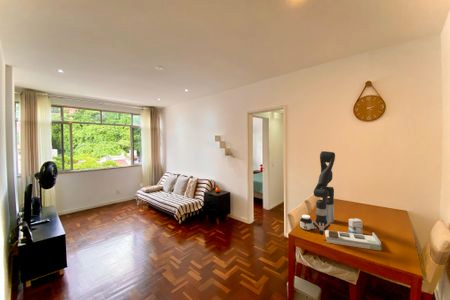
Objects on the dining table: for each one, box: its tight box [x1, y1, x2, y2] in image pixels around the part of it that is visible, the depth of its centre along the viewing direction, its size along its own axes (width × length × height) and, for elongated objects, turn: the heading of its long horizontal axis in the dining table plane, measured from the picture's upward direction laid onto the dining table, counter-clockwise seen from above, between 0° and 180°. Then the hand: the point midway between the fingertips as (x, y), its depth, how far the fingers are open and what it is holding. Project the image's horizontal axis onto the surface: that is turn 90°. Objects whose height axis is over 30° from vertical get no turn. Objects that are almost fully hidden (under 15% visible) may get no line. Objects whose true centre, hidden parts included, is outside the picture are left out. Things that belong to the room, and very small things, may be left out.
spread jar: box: [299, 214, 317, 231], centre depth 173 cm, size 12×11×12 cm
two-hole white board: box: [324, 229, 382, 251], centre depth 150 cm, size 16×34×6 cm, turn 67°
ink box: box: [348, 217, 363, 235], centre depth 160 cm, size 9×5×12 cm, turn 92°
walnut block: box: [328, 229, 339, 238], centre depth 151 cm, size 6×6×4 cm
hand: (321, 234), depth 155 cm, fingers closed
